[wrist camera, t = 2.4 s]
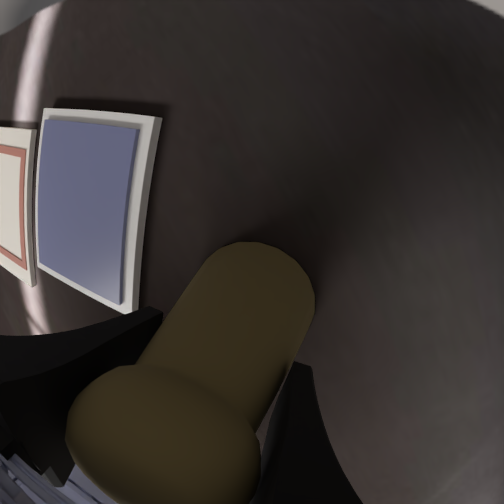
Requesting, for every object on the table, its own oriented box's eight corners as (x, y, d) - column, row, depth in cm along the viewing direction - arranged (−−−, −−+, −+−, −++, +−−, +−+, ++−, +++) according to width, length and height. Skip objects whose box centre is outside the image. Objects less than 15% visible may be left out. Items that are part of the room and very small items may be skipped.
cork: (181, 251, 15) (-4, 387, 5) (303, 231, 13) (198, 459, 3) (213, 353, 17) (106, 516, 7) (323, 348, 15) (278, 566, 5)
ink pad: (138, 312, 17) (128, 320, 16) (44, 263, 19) (34, 268, 18) (162, 117, 13) (151, 116, 12) (52, 108, 15) (40, 108, 14)
